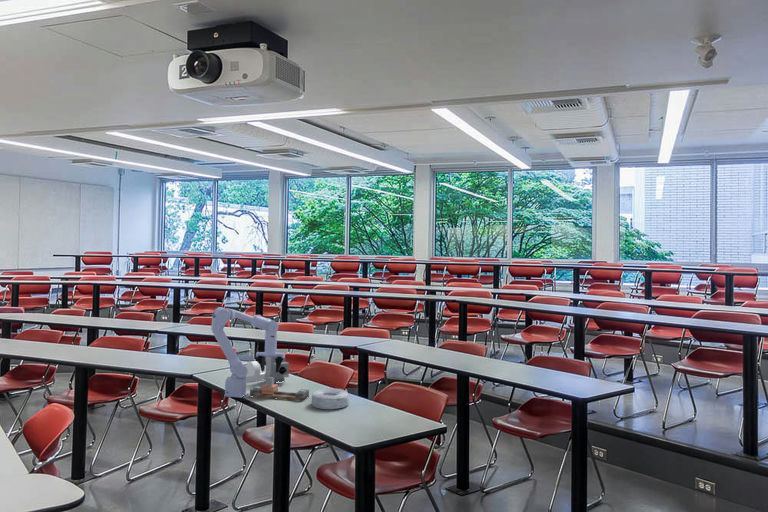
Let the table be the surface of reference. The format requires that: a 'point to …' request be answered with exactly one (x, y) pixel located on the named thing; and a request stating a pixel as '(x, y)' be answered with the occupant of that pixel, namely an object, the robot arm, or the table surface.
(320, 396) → the cable
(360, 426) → the table surface
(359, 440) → the table surface
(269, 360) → the circuit breaker
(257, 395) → the rail
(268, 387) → the carriage
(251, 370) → the white slotted bracket
